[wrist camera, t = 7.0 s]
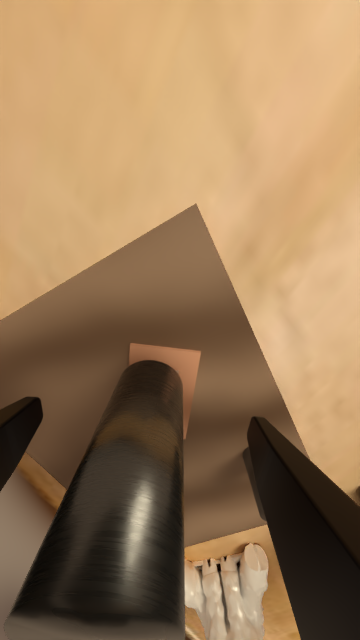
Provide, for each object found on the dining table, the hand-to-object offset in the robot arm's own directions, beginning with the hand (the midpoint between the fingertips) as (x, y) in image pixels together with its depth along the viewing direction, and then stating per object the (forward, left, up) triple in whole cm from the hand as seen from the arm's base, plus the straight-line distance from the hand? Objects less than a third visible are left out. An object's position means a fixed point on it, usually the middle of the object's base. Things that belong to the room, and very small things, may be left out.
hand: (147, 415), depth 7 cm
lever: (-7, +5, -3) cm, 9 cm away
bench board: (-5, +3, -5) cm, 8 cm away
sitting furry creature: (-25, +7, -5) cm, 27 cm away
